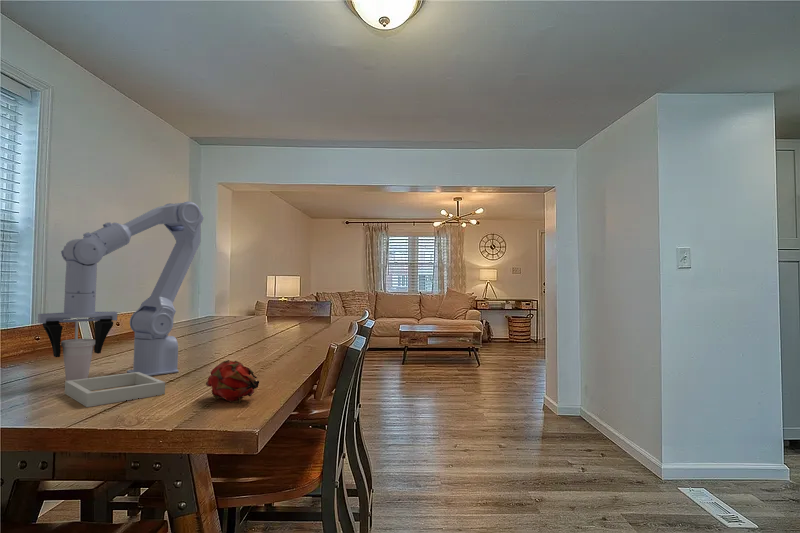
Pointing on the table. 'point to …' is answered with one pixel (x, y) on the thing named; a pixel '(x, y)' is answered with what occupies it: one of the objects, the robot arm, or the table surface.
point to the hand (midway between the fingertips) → (77, 354)
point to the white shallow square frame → (142, 388)
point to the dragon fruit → (232, 381)
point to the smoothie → (77, 356)
